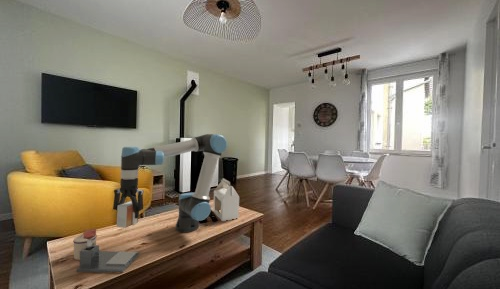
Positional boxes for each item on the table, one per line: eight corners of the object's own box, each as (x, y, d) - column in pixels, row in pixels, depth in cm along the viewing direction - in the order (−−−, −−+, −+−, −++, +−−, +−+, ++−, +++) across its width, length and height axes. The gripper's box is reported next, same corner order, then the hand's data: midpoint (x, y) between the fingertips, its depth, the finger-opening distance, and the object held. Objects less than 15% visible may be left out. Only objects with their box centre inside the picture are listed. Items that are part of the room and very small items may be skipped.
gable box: (213, 211, 169) (214, 177, 168) (228, 209, 175) (229, 176, 174) (222, 221, 149) (223, 183, 148) (238, 218, 155) (239, 182, 154)
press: (139, 254, 104) (139, 238, 104) (122, 272, 90) (122, 254, 90) (99, 253, 104) (99, 237, 104) (76, 271, 90) (76, 252, 90)
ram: (98, 250, 96) (98, 229, 96) (90, 256, 92) (91, 233, 91) (88, 250, 96) (88, 228, 96) (80, 256, 92) (80, 233, 91)
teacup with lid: (94, 257, 101) (94, 234, 101) (70, 262, 97) (70, 238, 96) (98, 246, 111) (99, 224, 111) (77, 249, 107) (77, 227, 107)
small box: (125, 228, 97) (126, 206, 97) (116, 226, 99) (117, 205, 98) (138, 222, 105) (139, 201, 105) (129, 220, 107) (130, 200, 106)
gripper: (152, 177, 105) (150, 222, 106) (115, 175, 105) (113, 220, 106) (144, 180, 98) (142, 228, 98) (104, 178, 98) (102, 226, 98)
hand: (127, 223), depth 102 cm, fingers closed on small box, 6 cm apart
